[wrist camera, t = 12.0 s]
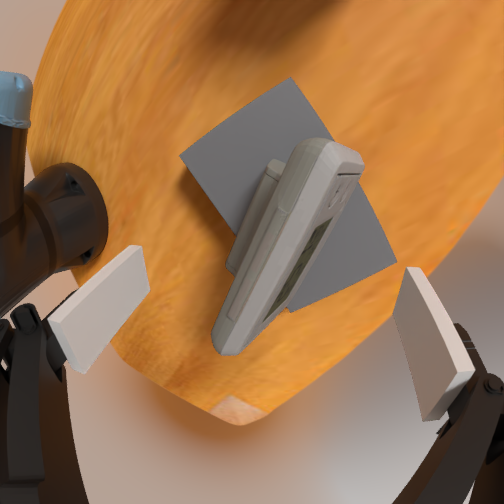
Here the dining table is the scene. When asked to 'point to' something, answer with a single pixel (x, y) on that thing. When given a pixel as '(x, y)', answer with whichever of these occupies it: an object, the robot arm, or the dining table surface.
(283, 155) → the charcoal block
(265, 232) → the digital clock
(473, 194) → the dining table surface
